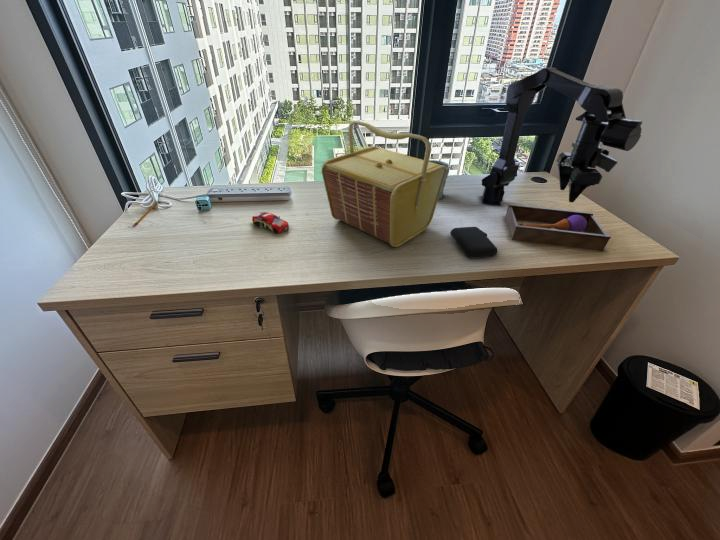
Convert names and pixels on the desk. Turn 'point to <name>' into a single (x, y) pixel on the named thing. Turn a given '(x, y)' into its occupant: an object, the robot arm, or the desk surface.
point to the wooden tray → (590, 240)
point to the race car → (270, 222)
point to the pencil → (145, 214)
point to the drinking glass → (446, 173)
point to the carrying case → (473, 242)
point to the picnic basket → (383, 188)
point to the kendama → (565, 224)
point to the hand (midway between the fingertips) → (566, 195)
